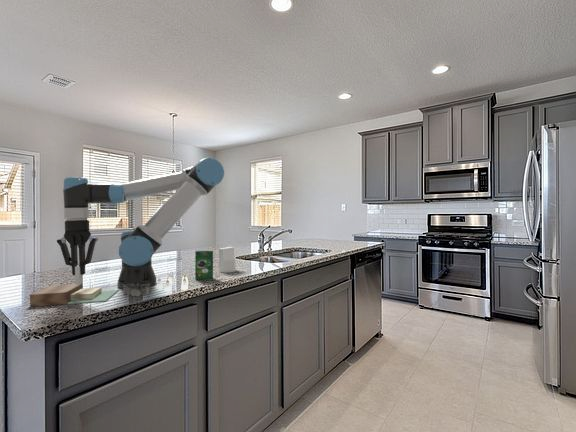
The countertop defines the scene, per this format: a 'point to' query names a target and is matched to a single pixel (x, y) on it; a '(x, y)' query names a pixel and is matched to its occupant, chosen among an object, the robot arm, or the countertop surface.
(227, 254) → the white upright block
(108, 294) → the mat
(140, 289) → the egg carton
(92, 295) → the tile
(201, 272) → the coffee box
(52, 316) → the countertop surface
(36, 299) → the tan wooden block
